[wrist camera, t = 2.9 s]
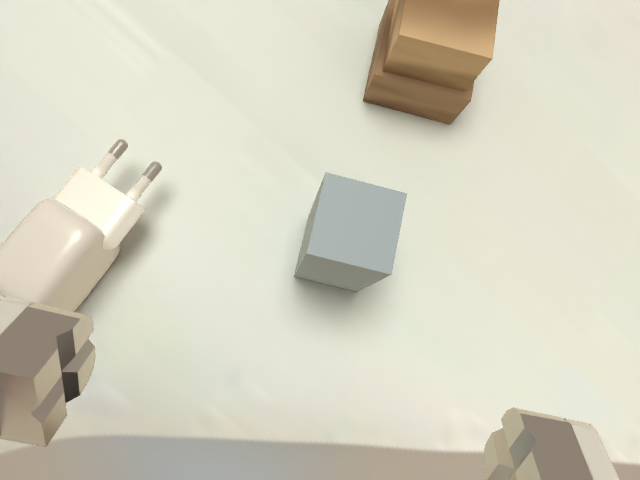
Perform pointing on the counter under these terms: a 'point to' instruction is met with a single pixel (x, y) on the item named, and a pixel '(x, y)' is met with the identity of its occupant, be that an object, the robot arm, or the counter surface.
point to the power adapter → (71, 237)
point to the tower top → (441, 40)
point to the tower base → (410, 86)
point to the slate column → (350, 234)
